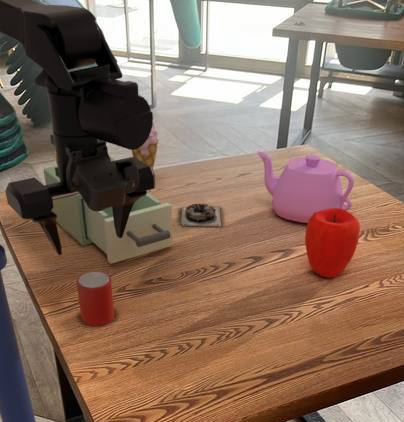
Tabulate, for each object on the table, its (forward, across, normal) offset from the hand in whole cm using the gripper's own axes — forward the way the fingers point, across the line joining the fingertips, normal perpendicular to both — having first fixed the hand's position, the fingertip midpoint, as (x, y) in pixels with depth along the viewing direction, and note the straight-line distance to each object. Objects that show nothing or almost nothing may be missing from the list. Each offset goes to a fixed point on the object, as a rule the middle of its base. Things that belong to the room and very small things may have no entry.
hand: (90, 245), depth 79 cm
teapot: (+12, +51, +11) cm, 54 cm away
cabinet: (+12, +14, +29) cm, 35 cm away
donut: (+12, +33, +20) cm, 41 cm away
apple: (+12, +39, -9) cm, 42 cm away
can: (+12, 0, 0) cm, 12 cm away
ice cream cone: (+12, +31, +39) cm, 51 cm away
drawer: (+11, +15, +16) cm, 24 cm away
